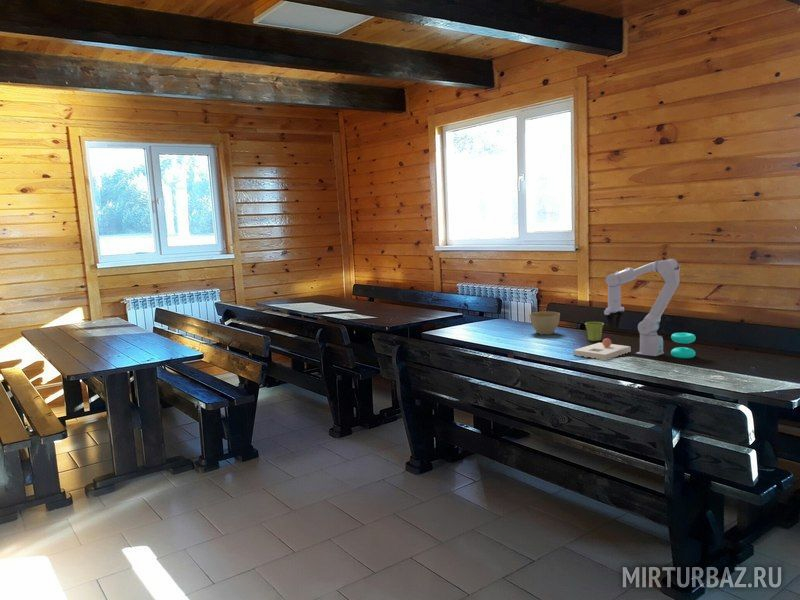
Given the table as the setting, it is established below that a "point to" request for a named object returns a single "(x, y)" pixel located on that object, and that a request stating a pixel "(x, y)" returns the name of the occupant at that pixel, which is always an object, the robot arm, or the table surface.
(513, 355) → the table surface
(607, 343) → the ball
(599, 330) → the plant pot
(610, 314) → the robot arm
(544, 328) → the planter bowl
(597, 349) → the deck
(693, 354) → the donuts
